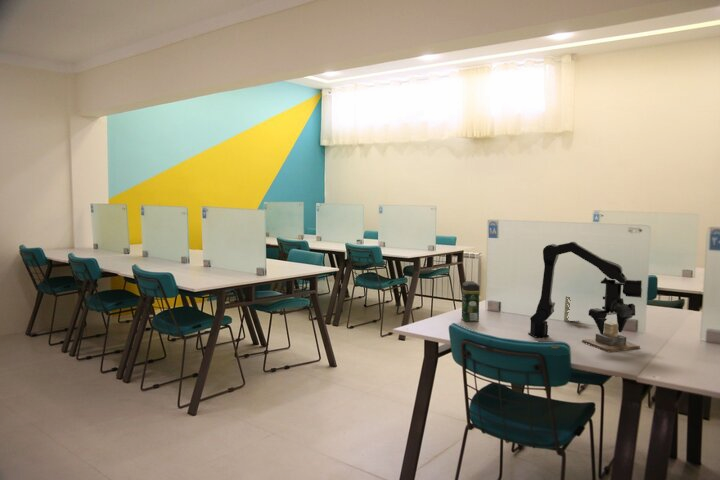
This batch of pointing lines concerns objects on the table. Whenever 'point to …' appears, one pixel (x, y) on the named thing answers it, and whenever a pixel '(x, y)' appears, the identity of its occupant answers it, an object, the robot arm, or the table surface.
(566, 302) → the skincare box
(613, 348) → the collar stand
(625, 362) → the table surface
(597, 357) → the table surface
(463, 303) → the coffee jar
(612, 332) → the maple peg
